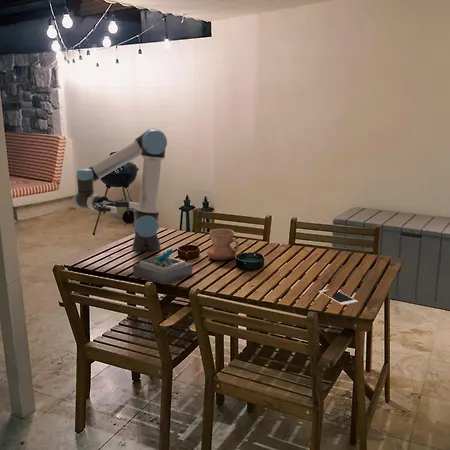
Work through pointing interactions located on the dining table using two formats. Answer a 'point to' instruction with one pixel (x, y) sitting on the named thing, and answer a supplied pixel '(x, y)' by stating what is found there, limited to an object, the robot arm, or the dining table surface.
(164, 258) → the gear
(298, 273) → the dining table surface
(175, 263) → the grey open tray
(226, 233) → the ceramic jug
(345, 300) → the cell phone
